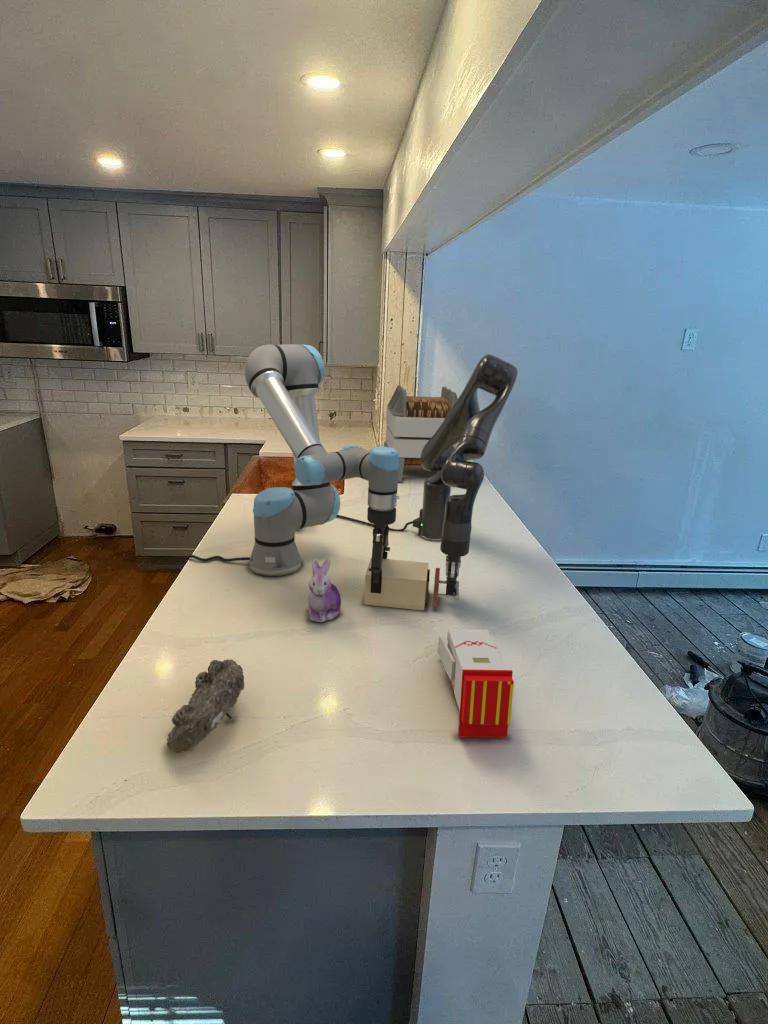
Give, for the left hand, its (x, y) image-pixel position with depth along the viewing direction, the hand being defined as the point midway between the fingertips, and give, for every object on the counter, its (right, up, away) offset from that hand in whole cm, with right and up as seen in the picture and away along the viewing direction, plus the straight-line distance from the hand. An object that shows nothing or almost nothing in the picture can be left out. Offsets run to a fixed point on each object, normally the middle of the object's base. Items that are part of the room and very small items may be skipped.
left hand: (378, 582), depth 155 cm
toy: (+19, -18, -36) cm, 45 cm away
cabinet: (+5, -4, +1) cm, 6 cm away
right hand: (+19, -3, -1) cm, 19 cm away
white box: (+19, +38, +120) cm, 127 cm away
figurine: (-14, -7, -9) cm, 18 cm away
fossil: (-31, -20, -47) cm, 60 cm away
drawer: (+11, -4, 0) cm, 12 cm away
